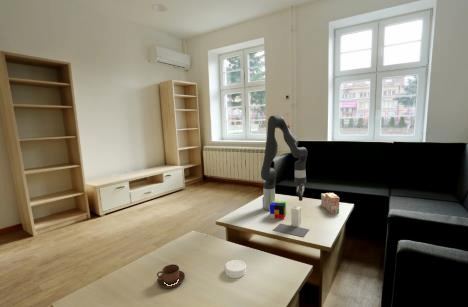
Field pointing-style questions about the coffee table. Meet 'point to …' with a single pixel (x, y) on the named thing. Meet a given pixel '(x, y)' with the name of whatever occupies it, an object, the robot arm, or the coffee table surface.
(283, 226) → the mat
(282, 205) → the puzzle toy
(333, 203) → the stack of blocks
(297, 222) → the tall block
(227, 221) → the coffee table surface
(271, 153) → the robot arm
